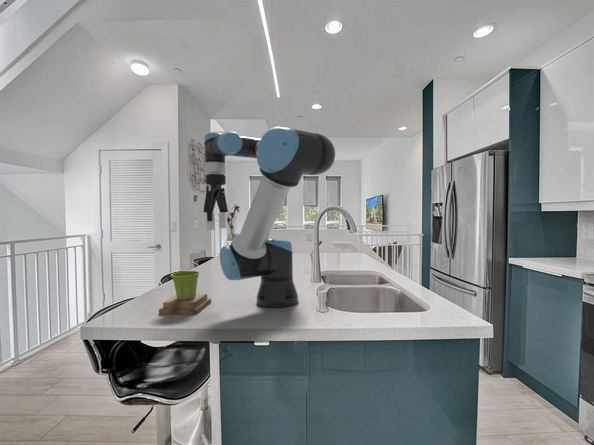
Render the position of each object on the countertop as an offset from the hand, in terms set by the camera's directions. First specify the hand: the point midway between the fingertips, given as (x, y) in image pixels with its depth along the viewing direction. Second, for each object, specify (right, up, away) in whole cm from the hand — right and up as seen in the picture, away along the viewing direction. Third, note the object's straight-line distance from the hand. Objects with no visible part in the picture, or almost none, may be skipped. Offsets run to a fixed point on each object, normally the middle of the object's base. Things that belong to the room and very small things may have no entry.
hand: (217, 229), depth 123 cm
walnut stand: (-8, -27, -13) cm, 31 cm away
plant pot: (-8, -24, -13) cm, 28 cm away
